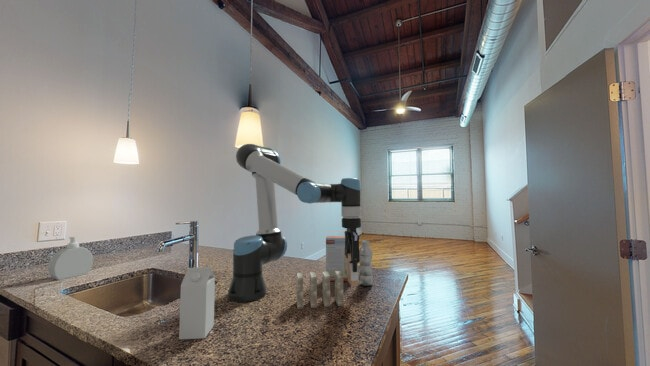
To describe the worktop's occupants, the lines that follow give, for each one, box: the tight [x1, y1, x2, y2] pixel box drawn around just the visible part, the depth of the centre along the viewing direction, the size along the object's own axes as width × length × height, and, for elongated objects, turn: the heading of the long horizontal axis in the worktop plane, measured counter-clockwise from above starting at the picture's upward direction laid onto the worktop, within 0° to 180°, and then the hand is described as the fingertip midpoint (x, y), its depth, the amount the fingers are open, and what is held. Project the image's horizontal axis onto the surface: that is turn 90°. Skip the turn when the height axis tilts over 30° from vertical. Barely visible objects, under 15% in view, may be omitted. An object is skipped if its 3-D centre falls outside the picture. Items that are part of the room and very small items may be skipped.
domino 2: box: [309, 271, 318, 309], centre depth 95 cm, size 2×6×11 cm, turn 8°
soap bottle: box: [47, 236, 94, 281], centre depth 129 cm, size 16×5×20 cm, turn 161°
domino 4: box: [334, 271, 344, 307], centre depth 96 cm, size 2×6×11 cm, turn 8°
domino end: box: [348, 253, 358, 288], centre depth 97 cm, size 2×6×11 cm, turn 8°
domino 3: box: [322, 271, 331, 308], centre depth 95 cm, size 2×6×11 cm, turn 8°
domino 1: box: [296, 272, 304, 310], centre depth 94 cm, size 2×6×11 cm, turn 8°
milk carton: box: [178, 267, 216, 340], centre depth 75 cm, size 7×7×19 cm
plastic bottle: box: [358, 239, 374, 287], centre depth 115 cm, size 6×7×20 cm
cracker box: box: [325, 235, 349, 283], centre depth 123 cm, size 14×6×21 cm, turn 84°
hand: (352, 277), depth 97 cm, fingers closed on domino end, 6 cm apart
